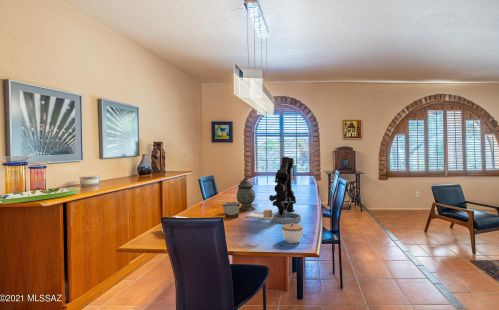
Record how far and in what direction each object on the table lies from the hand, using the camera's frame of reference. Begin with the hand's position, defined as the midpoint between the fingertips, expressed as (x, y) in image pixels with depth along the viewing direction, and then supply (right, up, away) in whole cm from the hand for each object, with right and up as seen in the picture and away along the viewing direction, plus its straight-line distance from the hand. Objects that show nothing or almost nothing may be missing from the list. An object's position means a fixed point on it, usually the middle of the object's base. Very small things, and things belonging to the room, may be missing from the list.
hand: (282, 214), depth 200 cm
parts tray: (-13, -4, +11) cm, 17 cm away
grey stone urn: (-24, -3, +33) cm, 41 cm away
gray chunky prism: (0, -2, 0) cm, 2 cm away
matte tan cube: (-9, -3, +8) cm, 13 cm away
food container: (-34, -4, +11) cm, 36 cm away
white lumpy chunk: (-58, -6, -24) cm, 63 cm away
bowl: (+3, -4, -1) cm, 5 cm away
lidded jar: (0, -5, -44) cm, 45 cm away
